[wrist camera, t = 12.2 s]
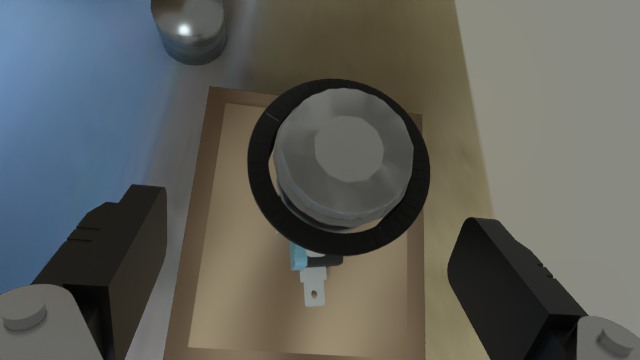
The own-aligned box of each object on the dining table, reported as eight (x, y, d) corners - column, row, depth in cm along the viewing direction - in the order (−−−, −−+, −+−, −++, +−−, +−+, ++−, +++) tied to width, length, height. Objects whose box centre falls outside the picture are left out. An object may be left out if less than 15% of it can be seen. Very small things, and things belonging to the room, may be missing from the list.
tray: (174, 361, 20) (159, 371, 17) (215, 111, 24) (209, 83, 21) (403, 372, 22) (427, 383, 19) (403, 135, 26) (423, 112, 23)
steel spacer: (156, 60, 25) (144, 29, 22) (168, 8, 26) (158, -28, 23) (222, 70, 25) (217, 40, 23) (230, 18, 27) (227, -16, 24)
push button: (364, 301, 19) (470, 299, 10) (252, 310, 18) (249, 316, 9) (352, 170, 21) (429, 62, 12) (249, 172, 20) (244, 57, 11)
